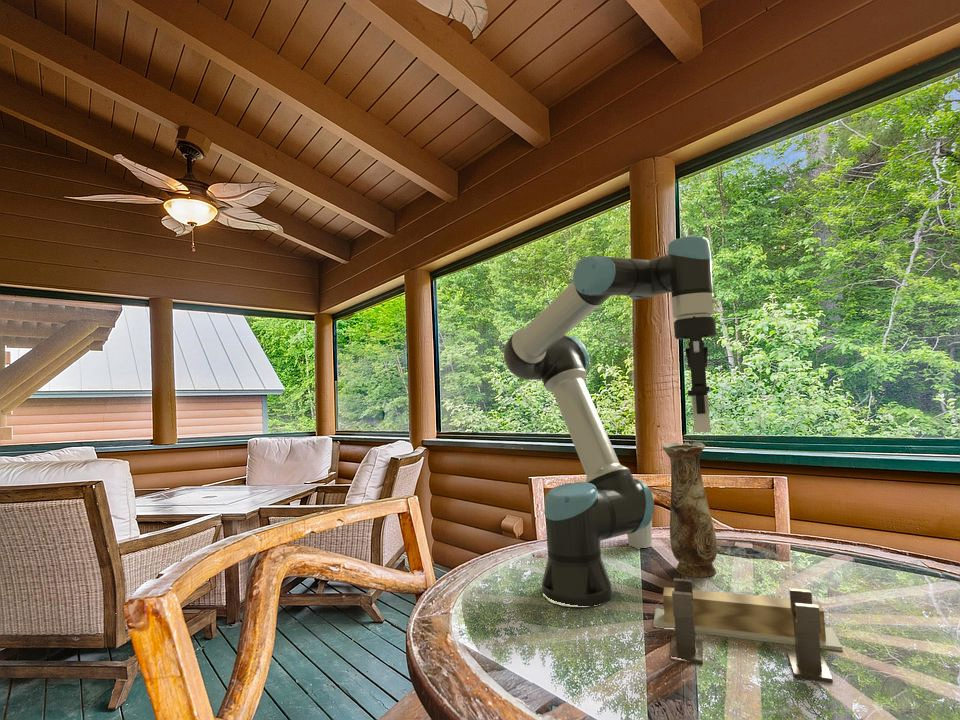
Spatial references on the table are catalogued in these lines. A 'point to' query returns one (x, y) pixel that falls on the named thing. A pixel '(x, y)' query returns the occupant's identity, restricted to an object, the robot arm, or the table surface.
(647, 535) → the cup
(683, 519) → the vase
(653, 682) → the table surface
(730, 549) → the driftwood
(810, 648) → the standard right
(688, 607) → the standard left
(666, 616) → the rail
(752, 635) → the cream flat board
